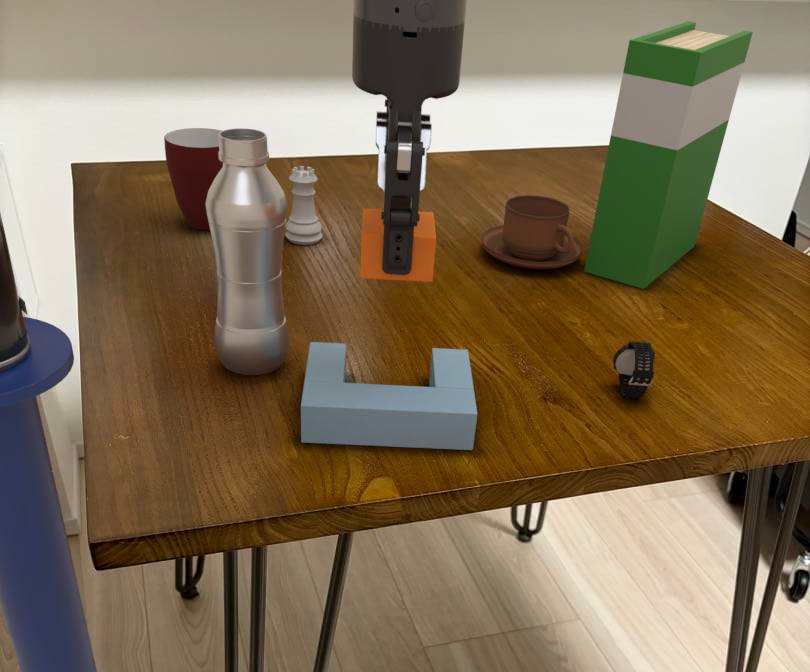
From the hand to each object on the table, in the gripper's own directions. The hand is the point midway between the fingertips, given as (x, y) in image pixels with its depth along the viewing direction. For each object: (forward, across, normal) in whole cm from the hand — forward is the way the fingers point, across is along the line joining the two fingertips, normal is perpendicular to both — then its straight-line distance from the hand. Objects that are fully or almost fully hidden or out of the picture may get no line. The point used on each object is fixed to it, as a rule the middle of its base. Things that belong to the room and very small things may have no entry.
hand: (396, 256), depth 71 cm
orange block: (+1, 0, 0) cm, 1 cm away
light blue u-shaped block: (+13, +2, 0) cm, 13 cm away
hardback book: (+13, -37, +31) cm, 50 cm away
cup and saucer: (+13, -35, +17) cm, 41 cm away
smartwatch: (+13, -3, +22) cm, 26 cm away
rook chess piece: (+13, -37, -10) cm, 41 cm away
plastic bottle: (+13, -5, -12) cm, 19 cm away
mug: (+13, -41, -22) cm, 48 cm away
